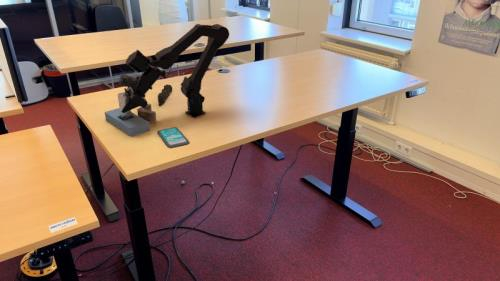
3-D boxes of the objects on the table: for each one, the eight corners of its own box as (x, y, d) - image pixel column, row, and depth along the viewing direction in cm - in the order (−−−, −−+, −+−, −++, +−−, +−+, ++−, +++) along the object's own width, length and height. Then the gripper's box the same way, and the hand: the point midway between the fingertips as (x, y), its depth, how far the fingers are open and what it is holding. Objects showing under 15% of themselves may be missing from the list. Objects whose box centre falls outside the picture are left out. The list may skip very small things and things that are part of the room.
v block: (151, 111, 163) (150, 102, 161) (157, 121, 154) (156, 112, 152) (136, 113, 160) (135, 105, 158) (141, 124, 151) (140, 115, 149)
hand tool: (164, 91, 185) (163, 82, 183) (172, 92, 185) (172, 83, 182) (153, 106, 168) (152, 97, 166) (162, 107, 168) (161, 97, 166)
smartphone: (168, 147, 134) (155, 130, 146) (168, 149, 135) (155, 132, 146) (190, 142, 138) (176, 126, 149) (191, 144, 138) (177, 128, 150)
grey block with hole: (149, 130, 147) (149, 122, 145) (131, 136, 142) (130, 128, 140) (123, 114, 159) (122, 106, 158) (105, 120, 154) (104, 112, 152)
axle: (134, 125, 151) (130, 94, 144) (125, 128, 148) (120, 97, 142) (129, 122, 153) (125, 91, 147) (120, 124, 150) (115, 94, 144)
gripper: (126, 60, 149) (100, 90, 149) (134, 74, 134) (106, 107, 135) (148, 77, 155) (124, 106, 156) (159, 92, 140) (132, 124, 141)
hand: (121, 110), depth 147 cm, fingers closed on axle, 4 cm apart
